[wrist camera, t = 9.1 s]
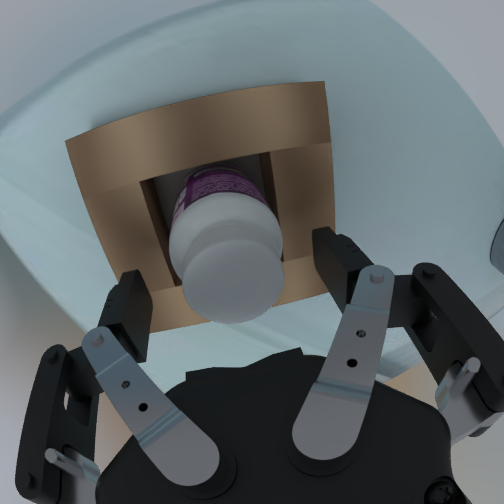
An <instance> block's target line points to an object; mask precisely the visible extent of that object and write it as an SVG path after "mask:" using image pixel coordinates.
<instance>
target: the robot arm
mask: <svg viewBox="0 0 504 504" xmlns="http://www.w3.org/2000/svg"><path fill="white" fill-rule="evenodd" d="M312 244H313V260H314V265H315V268H316V271H317V272H318V274H319V276H320V277H321V279H322V281H323V282H324V284H325V286H326V287H327V289H328V290H329V292H330V294H331V295H332V297H333V299H334V301H335V302H336V304H337V306H338V307H339V309H340V311H341V312H342V314H343V316H342V318H341V321H340V324H339V327H338V329H337V332H336V335H335V337H334V340H333V343H332V345H331V348H330V350H329V353H328V355H327V357H324V356H318V355H303V352H302V350H301V347H299V348H295V349H291V350H288V351H284V352H280V353H276V354H272V355H270V356H268V357H266V358H264V359H261V360H259V361H257V362H255V363H253V364H250V365H248V366H246V367H241V368H230V367H212V368H206V369H201V370H195V371H189V372H186V381H184V382H182V383H180V384H178V385H176V386H175V387H173V388H171V389H170V390H169V391H168V392H166V393H165V394H164V393H163V392H162V391H161V390H160V389H159V388H158V387H157V386H156V385H155V384H154V382H153V381H152V380H151V379H150V378H149V377H148V376H147V374H146V373H145V372H144V371H143V370H142V369H141V367H140V366H139V365H138V364H137V363H142V362H146V357H147V349H148V341H149V333H150V326H151V319H152V312H153V301H152V297H151V295H150V293H149V290H148V288H147V286H146V284H145V281H144V279H143V277H142V275H141V272H140V271H139V270H138V269H136V270H131V271H127V272H123V273H122V275H121V278H120V281H119V283H118V285H115V286H114V287H113V288H112V290H111V291H110V292H109V294H108V297H107V299H106V302H105V305H104V308H103V311H102V314H101V317H100V320H99V323H98V326H97V327H96V328H94V329H92V330H90V331H89V332H88V333H87V334H86V335H85V336H84V338H83V340H82V344H81V345H82V346H81V347H78V348H76V349H74V350H71V351H69V352H68V351H67V350H66V349H65V347H64V346H63V345H59V344H57V345H54V346H52V347H50V348H49V349H47V350H46V352H45V353H44V354H43V356H42V358H41V362H40V364H39V367H38V371H37V374H36V377H35V381H34V384H33V388H32V391H31V395H30V399H29V403H28V407H27V411H26V415H25V419H24V425H23V429H22V434H21V440H20V445H19V452H18V458H17V465H16V474H15V484H16V488H17V490H18V492H19V494H20V495H22V497H24V498H26V499H28V500H30V501H32V502H34V503H37V504H472V503H471V502H470V500H469V499H468V498H467V497H466V496H465V495H464V493H463V492H462V491H461V489H460V488H459V487H458V485H457V484H456V482H455V480H454V477H453V473H452V468H451V459H450V458H451V454H450V451H451V446H452V445H453V444H455V443H457V442H458V441H460V440H462V439H464V438H465V437H467V436H470V437H476V436H480V435H481V434H483V433H484V432H485V431H486V430H487V429H488V428H489V427H491V426H492V425H493V424H494V423H495V422H496V421H497V420H498V419H499V418H500V417H501V416H502V415H503V414H504V341H503V339H502V338H501V337H500V335H499V334H498V333H497V332H496V331H495V329H494V328H493V326H492V325H491V324H490V323H489V321H488V320H487V319H486V318H485V317H484V315H483V314H482V313H481V312H480V311H479V309H478V308H477V307H476V306H475V305H474V304H473V302H472V301H471V300H470V299H469V298H468V297H467V296H466V294H465V293H464V292H463V291H462V290H461V289H460V288H459V287H458V286H457V284H456V283H455V282H454V281H453V280H452V279H451V278H450V277H449V276H448V275H447V274H446V273H445V272H444V271H443V270H442V269H441V268H440V267H439V266H437V265H435V264H432V263H419V264H417V265H416V266H415V267H414V268H413V273H412V275H394V273H393V272H392V271H391V270H390V269H389V268H387V267H384V266H381V265H374V264H373V263H372V261H371V260H370V259H369V258H368V257H367V256H366V255H365V254H364V253H363V251H362V250H360V248H359V247H358V246H357V245H356V244H355V243H354V242H353V241H352V240H351V239H350V238H349V237H347V236H345V235H342V234H339V235H336V234H335V232H334V231H333V230H332V229H331V228H330V227H329V226H326V227H321V228H317V229H313V230H312ZM491 263H492V265H493V266H494V267H496V268H497V269H498V270H499V271H500V272H501V273H502V274H504V221H503V223H502V224H501V226H500V228H499V230H498V232H497V235H496V237H495V240H494V243H493V246H492V250H491ZM435 316H436V317H435ZM437 319H438V320H437ZM394 327H404V329H405V330H406V332H407V333H408V335H409V337H410V338H411V340H412V341H413V343H414V345H415V346H416V348H417V350H418V351H419V353H420V355H421V356H422V358H423V360H424V361H425V363H426V365H427V366H428V368H429V370H430V372H431V373H432V375H433V377H434V379H435V380H436V382H437V384H438V388H437V390H436V393H435V399H436V403H437V406H438V410H437V409H436V408H434V407H433V406H431V405H429V404H427V403H424V402H422V401H420V400H417V399H415V398H413V397H411V396H409V395H407V394H404V393H402V392H400V391H398V390H396V389H393V388H391V387H389V386H387V385H385V384H383V383H381V382H379V381H376V380H375V377H376V374H377V370H378V366H379V362H380V357H381V353H382V349H383V344H384V339H385V335H386V330H387V328H394ZM65 392H67V393H68V394H69V398H68V405H67V410H65V407H64V397H65ZM103 392H105V394H106V395H107V397H108V398H109V400H110V401H111V403H112V404H113V406H114V408H115V409H116V411H117V412H118V413H119V415H120V416H121V418H122V419H123V421H124V422H125V424H126V425H127V426H128V428H129V429H130V431H131V432H132V433H133V435H132V436H131V437H130V438H129V440H128V441H127V442H126V444H125V445H124V446H123V447H122V449H121V450H120V451H119V452H118V454H117V455H116V456H115V457H114V459H113V460H112V461H111V462H110V464H109V465H108V466H107V467H106V469H105V470H104V471H103V472H102V474H101V475H100V470H99V468H98V466H97V465H96V464H95V463H94V453H95V434H96V422H97V411H98V403H99V394H100V393H103Z"/></svg>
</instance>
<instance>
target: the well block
mask: <svg viewBox="0 0 504 504" xmlns="http://www.w3.org/2000/svg"><path fill="white" fill-rule="evenodd" d="M65 143H66V147H67V150H68V154H69V157H70V161H71V164H72V167H73V170H74V173H75V177H76V180H77V183H78V186H79V188H80V191H81V194H82V197H83V200H84V203H85V205H86V208H87V211H88V213H89V216H90V218H91V221H92V224H93V226H94V229H95V231H96V234H97V236H98V238H99V241H100V243H101V245H102V248H103V250H104V252H105V255H106V257H107V259H108V261H109V263H110V266H111V268H112V270H113V272H114V274H115V276H116V278H117V281H118V283H119V281H120V278H121V275H122V273H123V272H127V271H131V270H136V269H138V270H139V271H140V272H141V275H142V277H143V279H144V281H145V284H146V286H147V288H148V290H149V293H150V295H151V297H152V301H153V312H152V319H151V326H150V333H154V332H159V331H165V330H170V329H175V328H180V327H185V326H190V325H195V324H200V323H205V322H210V321H211V320H208V319H206V318H204V317H202V316H200V315H199V314H197V313H196V312H195V311H194V310H193V309H192V308H191V307H190V306H189V304H188V303H187V301H186V299H185V297H184V294H183V289H182V280H181V279H180V278H179V276H178V275H177V273H176V272H175V270H174V268H173V265H172V263H171V259H170V254H169V238H170V233H171V226H172V221H173V215H174V210H175V205H176V200H177V196H178V192H179V189H180V186H181V184H182V183H183V181H184V179H185V178H186V177H187V176H188V175H189V174H190V173H191V172H192V171H193V170H195V169H196V168H198V167H200V166H202V165H205V164H209V163H217V162H222V163H229V164H231V165H234V166H236V167H238V168H240V169H241V170H243V171H244V172H245V173H246V174H247V175H248V176H249V177H250V179H251V180H252V181H253V183H254V184H255V186H256V187H257V189H258V191H259V192H260V194H261V195H262V197H263V199H264V200H265V202H266V203H267V205H268V206H269V208H270V209H271V211H272V212H273V214H274V215H275V217H276V219H277V221H278V224H279V226H280V229H281V233H282V239H283V248H282V255H281V258H280V260H281V262H282V265H283V269H284V274H285V281H284V286H283V290H282V292H281V294H280V296H279V298H278V300H277V301H276V302H275V303H274V305H273V306H272V307H274V306H278V305H282V304H286V303H290V302H294V301H298V300H302V299H305V298H309V297H313V296H317V295H320V294H324V293H327V292H329V290H328V289H327V287H326V286H325V284H324V282H323V281H322V279H321V277H320V276H319V274H318V272H317V271H316V268H315V265H314V260H313V244H312V230H313V229H317V228H321V227H326V226H329V227H330V228H331V229H332V230H333V231H334V232H335V203H334V181H333V164H332V150H331V138H330V127H329V117H328V107H327V99H326V91H325V83H324V81H317V82H301V83H289V84H279V85H270V86H262V87H254V88H248V89H241V90H235V91H229V92H223V93H218V94H213V95H208V96H203V97H199V98H194V99H190V100H186V101H181V102H177V103H173V104H170V105H166V106H162V107H158V108H155V109H151V110H148V111H145V112H141V113H138V114H135V115H132V116H129V117H126V118H123V119H120V120H117V121H114V122H111V123H108V124H106V125H103V126H100V127H98V128H95V129H92V130H90V131H87V132H85V133H82V134H80V135H78V136H75V137H73V138H71V139H68V140H66V141H65Z"/></svg>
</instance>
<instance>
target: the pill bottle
mask: <svg viewBox="0 0 504 504" xmlns="http://www.w3.org/2000/svg"><path fill="white" fill-rule="evenodd" d="M282 248H283V239H282V233H281V229H280V226H279V224H278V221H277V219H276V217H275V215H274V214H273V212H272V211H271V209H270V208H269V206H268V205H267V203H266V202H265V200H264V199H263V197H262V195H261V194H260V192H259V191H258V189H257V187H256V186H255V184H254V183H253V181H252V180H251V179H250V177H249V176H248V175H247V174H246V173H245V172H244V171H243V170H241V169H240V168H238V167H236V166H234V165H231V164H229V163H222V162H217V163H209V164H205V165H202V166H200V167H198V168H196V169H195V170H193V171H192V172H191V173H190V174H189V175H188V176H187V177H186V178H185V179H184V181H183V183H182V184H181V186H180V189H179V192H178V196H177V200H176V205H175V210H174V215H173V221H172V226H171V233H170V238H169V254H170V259H171V263H172V265H173V268H174V270H175V272H176V273H177V275H178V276H179V278H180V279H181V280H182V289H183V294H184V297H185V299H186V301H187V303H188V304H189V306H190V307H191V308H192V309H193V310H194V311H195V312H196V313H197V314H199V315H200V316H202V317H204V318H206V319H208V320H211V321H214V322H218V323H229V324H231V323H241V322H245V321H248V320H251V319H254V318H256V317H258V316H260V315H262V314H263V313H265V312H266V311H267V310H268V309H270V308H271V307H272V306H273V305H274V303H275V302H276V301H277V300H278V298H279V296H280V294H281V292H282V290H283V286H284V281H285V274H284V269H283V265H282V262H281V260H280V258H281V255H282Z"/></svg>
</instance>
